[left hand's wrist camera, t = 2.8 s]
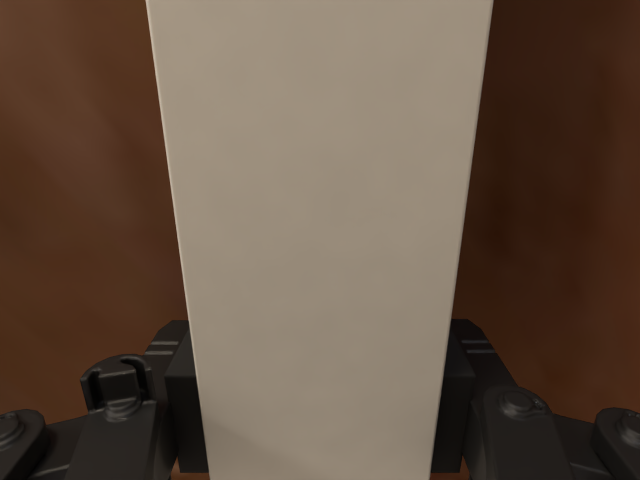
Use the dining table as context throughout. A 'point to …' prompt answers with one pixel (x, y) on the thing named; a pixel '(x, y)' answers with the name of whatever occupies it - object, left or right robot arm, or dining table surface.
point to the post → (319, 221)
